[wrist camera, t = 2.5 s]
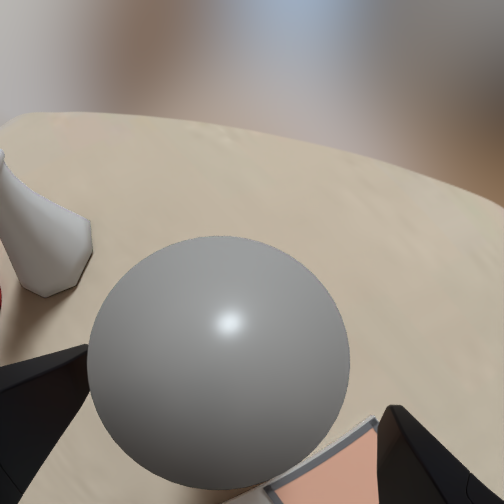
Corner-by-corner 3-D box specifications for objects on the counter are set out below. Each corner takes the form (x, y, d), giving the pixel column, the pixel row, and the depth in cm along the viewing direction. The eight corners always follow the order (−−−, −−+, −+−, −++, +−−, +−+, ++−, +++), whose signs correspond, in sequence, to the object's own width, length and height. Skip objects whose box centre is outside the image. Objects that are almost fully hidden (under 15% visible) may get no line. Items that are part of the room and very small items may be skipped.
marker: (234, 453, 14) (159, 526, 3) (194, 385, 16) (61, 304, 5) (306, 412, 15) (400, 391, 4) (263, 347, 17) (257, 200, 6)
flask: (86, 298, 19) (-7, 209, 10) (15, 299, 19) (-72, 228, 10) (103, 212, 23) (46, 111, 14) (36, 222, 23) (-26, 142, 14)
